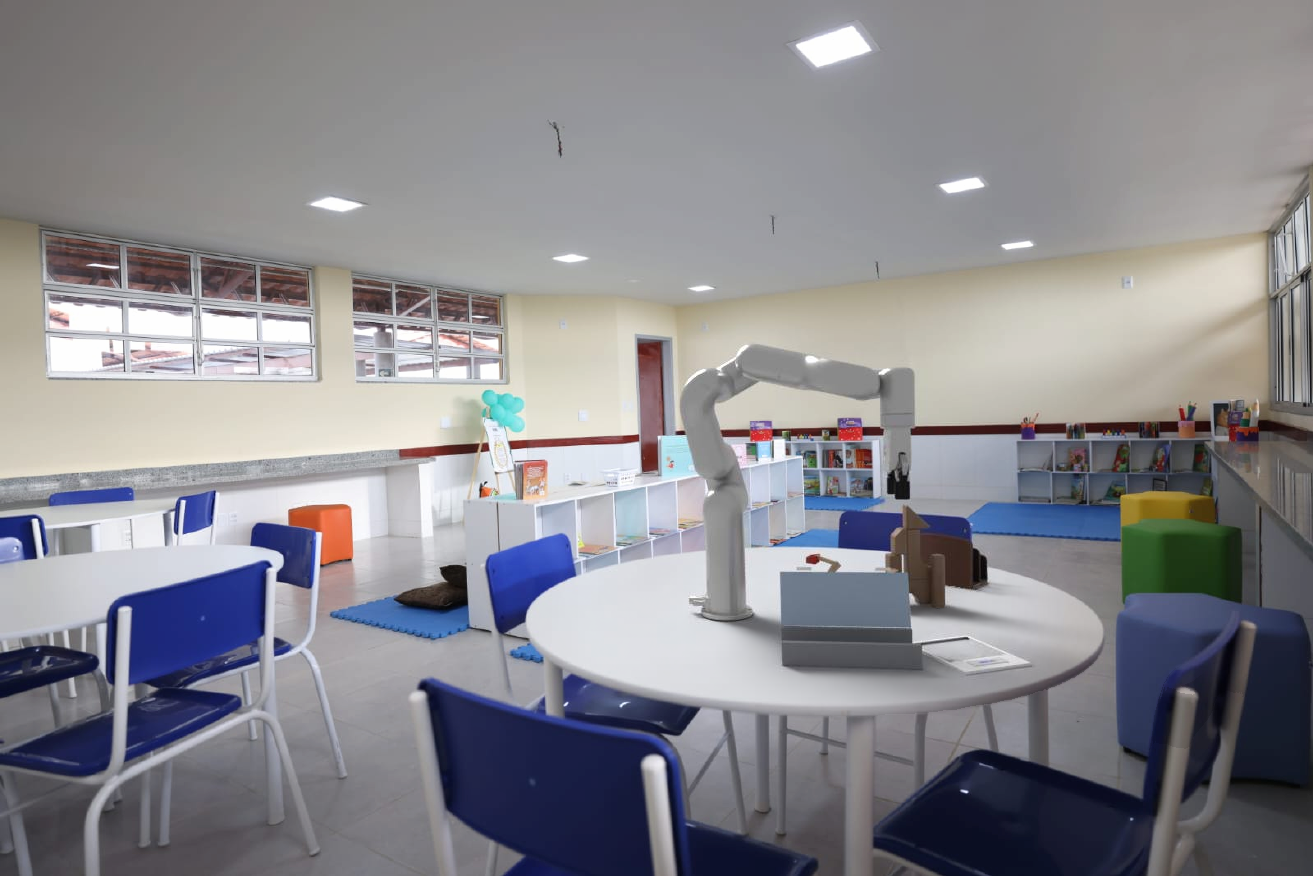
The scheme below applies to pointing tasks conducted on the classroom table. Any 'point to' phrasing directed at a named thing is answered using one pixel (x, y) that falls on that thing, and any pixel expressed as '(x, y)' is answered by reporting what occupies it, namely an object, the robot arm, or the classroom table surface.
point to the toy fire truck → (816, 558)
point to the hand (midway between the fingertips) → (898, 496)
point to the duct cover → (845, 598)
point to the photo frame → (979, 659)
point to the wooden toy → (917, 562)
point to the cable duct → (850, 647)
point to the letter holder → (956, 559)
